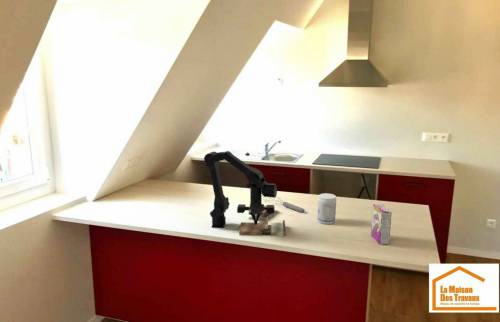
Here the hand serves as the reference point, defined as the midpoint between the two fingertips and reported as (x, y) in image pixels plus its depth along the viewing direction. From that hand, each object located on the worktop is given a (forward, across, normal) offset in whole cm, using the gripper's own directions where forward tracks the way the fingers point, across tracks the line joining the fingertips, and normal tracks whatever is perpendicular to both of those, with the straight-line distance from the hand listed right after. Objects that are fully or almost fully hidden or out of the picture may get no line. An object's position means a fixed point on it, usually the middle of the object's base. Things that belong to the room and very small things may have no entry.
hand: (255, 224), depth 191 cm
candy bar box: (+3, +60, -9) cm, 61 cm away
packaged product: (+4, +4, +22) cm, 22 cm away
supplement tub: (+3, +38, +14) cm, 41 cm away
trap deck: (+3, +3, 0) cm, 4 cm away
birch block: (+1, +4, 0) cm, 4 cm away
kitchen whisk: (+4, +16, +38) cm, 41 cm away
